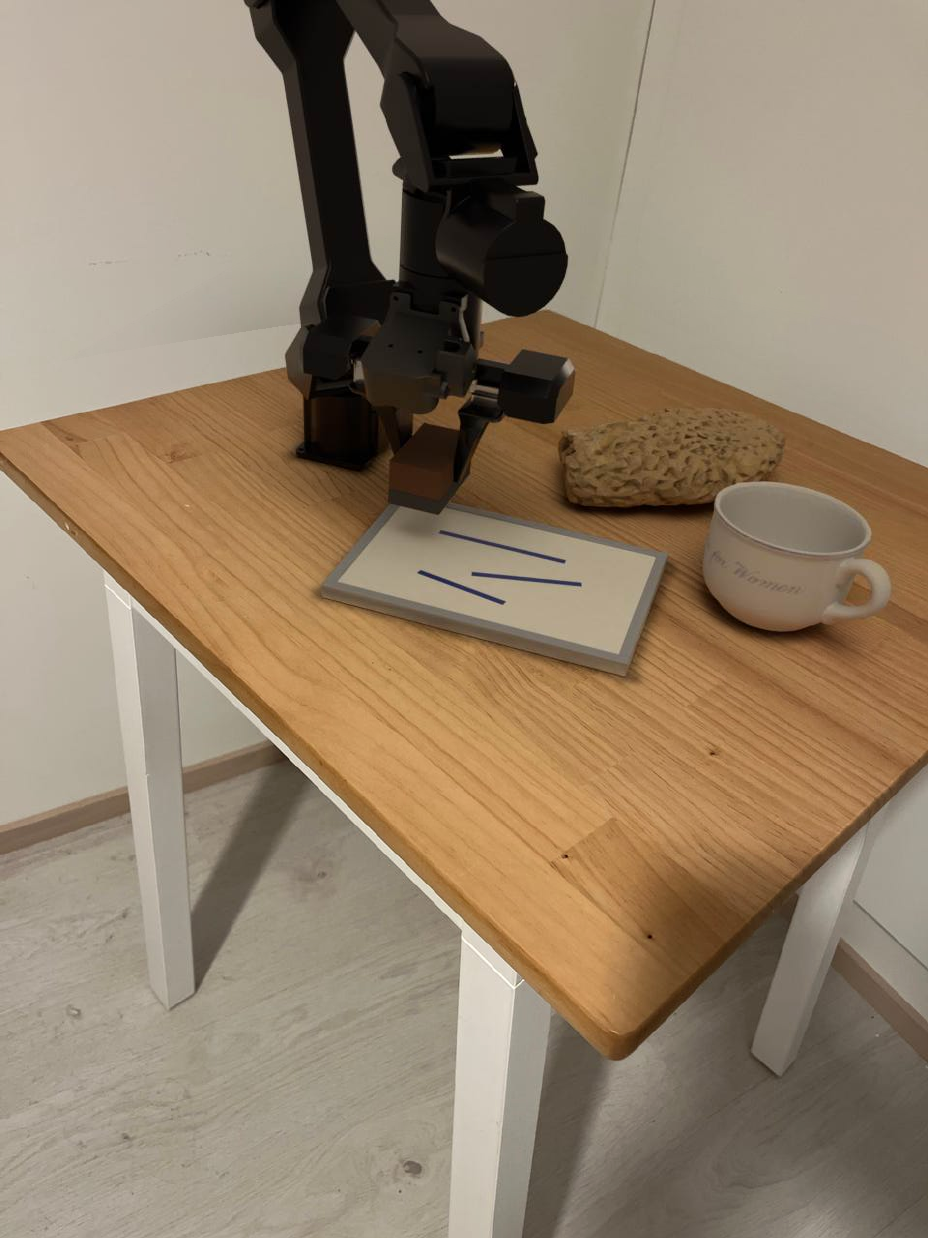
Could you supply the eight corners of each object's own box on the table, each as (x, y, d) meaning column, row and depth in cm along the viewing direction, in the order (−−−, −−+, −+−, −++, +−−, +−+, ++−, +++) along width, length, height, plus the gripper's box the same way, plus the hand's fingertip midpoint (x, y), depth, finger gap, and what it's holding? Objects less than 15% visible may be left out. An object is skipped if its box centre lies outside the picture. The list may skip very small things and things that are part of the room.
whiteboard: (321, 597, 76) (321, 583, 75) (400, 502, 88) (401, 490, 87) (625, 677, 71) (628, 663, 70) (666, 565, 82) (669, 552, 82)
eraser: (387, 503, 78) (388, 460, 76) (421, 463, 84) (424, 422, 82) (438, 515, 77) (441, 472, 75) (470, 474, 83) (473, 432, 81)
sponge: (573, 540, 87) (820, 504, 86) (563, 447, 84) (820, 409, 83) (557, 489, 99) (774, 457, 98) (547, 406, 95) (772, 372, 95)
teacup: (665, 579, 81) (685, 485, 76) (781, 556, 85) (807, 466, 80) (777, 692, 71) (809, 591, 66) (904, 660, 75) (942, 563, 70)
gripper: (257, 274, 67) (266, 494, 76) (545, 329, 62) (518, 556, 71) (333, 229, 75) (333, 432, 84) (590, 275, 71) (561, 483, 80)
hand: (430, 474), depth 80 cm, fingers closed on eraser, 4 cm apart
